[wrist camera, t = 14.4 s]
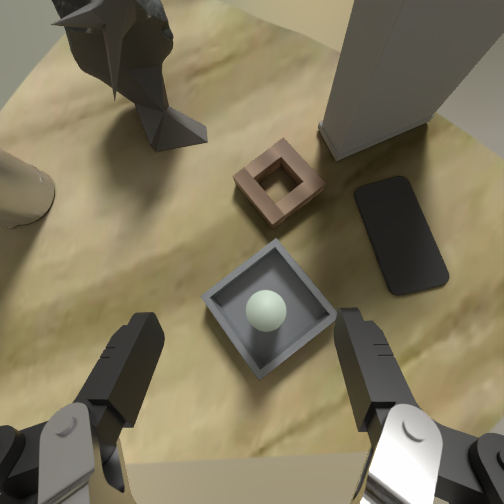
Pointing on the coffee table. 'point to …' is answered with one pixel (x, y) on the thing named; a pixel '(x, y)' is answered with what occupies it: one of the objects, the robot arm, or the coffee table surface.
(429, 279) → the phone
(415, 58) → the tall grey upright box
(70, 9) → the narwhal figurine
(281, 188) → the coffee table surface
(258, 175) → the brown hollow square block
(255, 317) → the pale green rounded cylinder
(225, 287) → the tray
